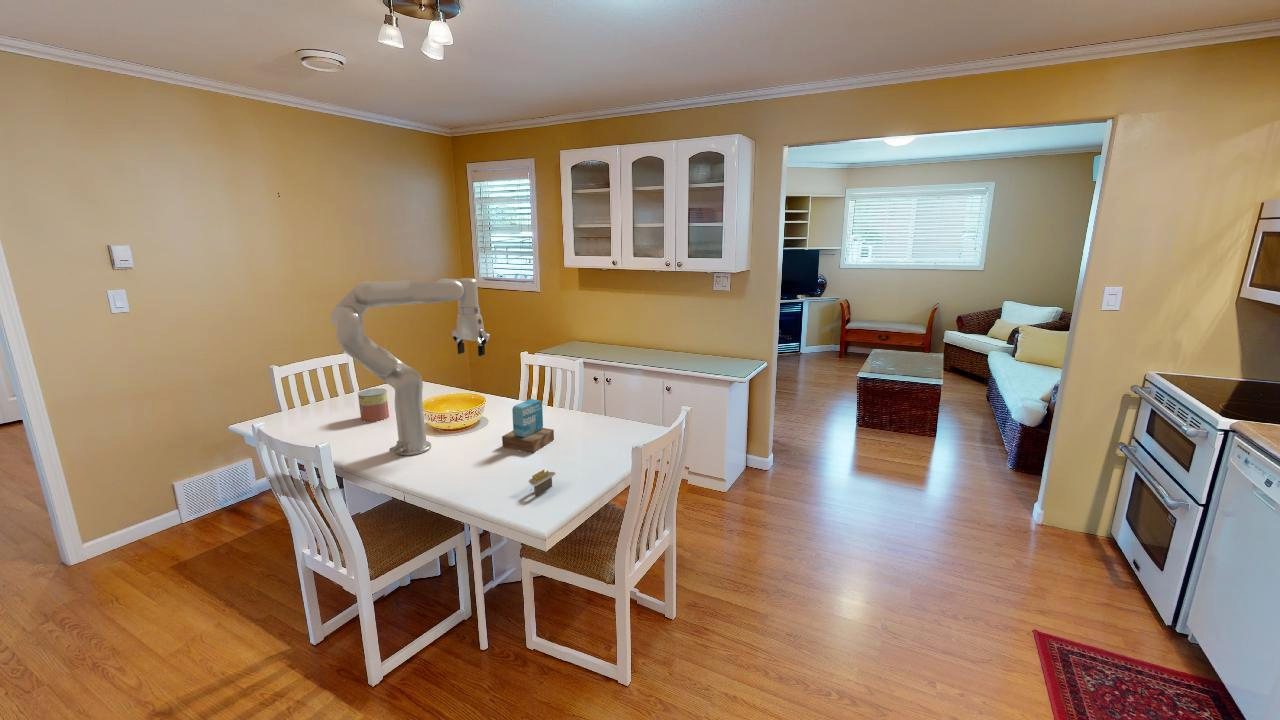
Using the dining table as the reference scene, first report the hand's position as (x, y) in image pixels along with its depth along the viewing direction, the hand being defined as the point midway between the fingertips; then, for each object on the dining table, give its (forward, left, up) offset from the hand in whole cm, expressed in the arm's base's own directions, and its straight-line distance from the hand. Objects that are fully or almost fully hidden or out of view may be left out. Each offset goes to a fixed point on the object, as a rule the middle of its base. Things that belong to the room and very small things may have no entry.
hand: (471, 354), depth 215 cm
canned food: (0, +53, -33) cm, 63 cm away
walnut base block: (-2, -25, -34) cm, 42 cm away
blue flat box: (-2, -25, -29) cm, 38 cm away
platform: (-34, -50, -34) cm, 69 cm away
